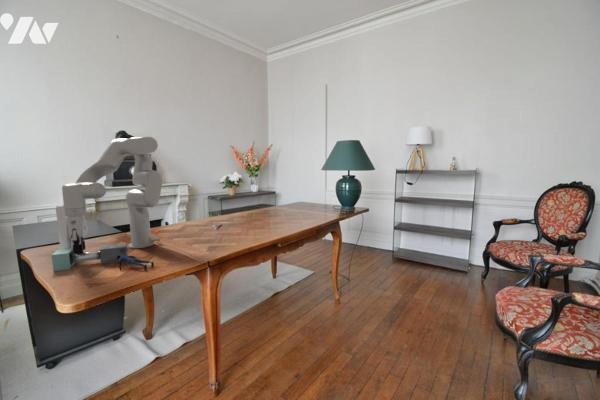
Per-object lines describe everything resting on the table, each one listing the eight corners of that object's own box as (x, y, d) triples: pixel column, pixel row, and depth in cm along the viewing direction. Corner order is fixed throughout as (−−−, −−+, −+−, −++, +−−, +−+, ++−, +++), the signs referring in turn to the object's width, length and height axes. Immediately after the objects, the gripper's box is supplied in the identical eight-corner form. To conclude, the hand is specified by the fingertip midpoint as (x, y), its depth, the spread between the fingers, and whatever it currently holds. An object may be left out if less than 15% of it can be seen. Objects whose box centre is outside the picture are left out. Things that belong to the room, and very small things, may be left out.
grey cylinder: (68, 256, 137) (62, 206, 134) (57, 255, 138) (51, 205, 135) (80, 252, 143) (75, 204, 140) (70, 251, 145) (65, 203, 141)
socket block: (75, 262, 128) (73, 247, 127) (69, 269, 120) (68, 253, 119) (60, 264, 126) (58, 249, 125) (53, 271, 118) (51, 255, 117)
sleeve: (128, 256, 137) (127, 243, 136) (126, 260, 131) (125, 246, 130) (103, 259, 132) (102, 245, 131) (101, 264, 126) (99, 249, 125)
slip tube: (109, 257, 132) (107, 237, 131) (107, 259, 128) (106, 239, 127) (63, 262, 124) (61, 241, 123) (61, 265, 121) (58, 244, 119)
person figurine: (159, 268, 127) (127, 259, 130) (160, 259, 126) (127, 250, 130) (140, 277, 116) (106, 267, 120) (141, 267, 115) (106, 258, 119)
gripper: (81, 214, 117) (85, 255, 119) (90, 208, 132) (93, 245, 134) (58, 215, 113) (63, 258, 116) (70, 209, 128) (74, 247, 131)
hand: (79, 251), depth 125 cm, fingers open, 4 cm apart
